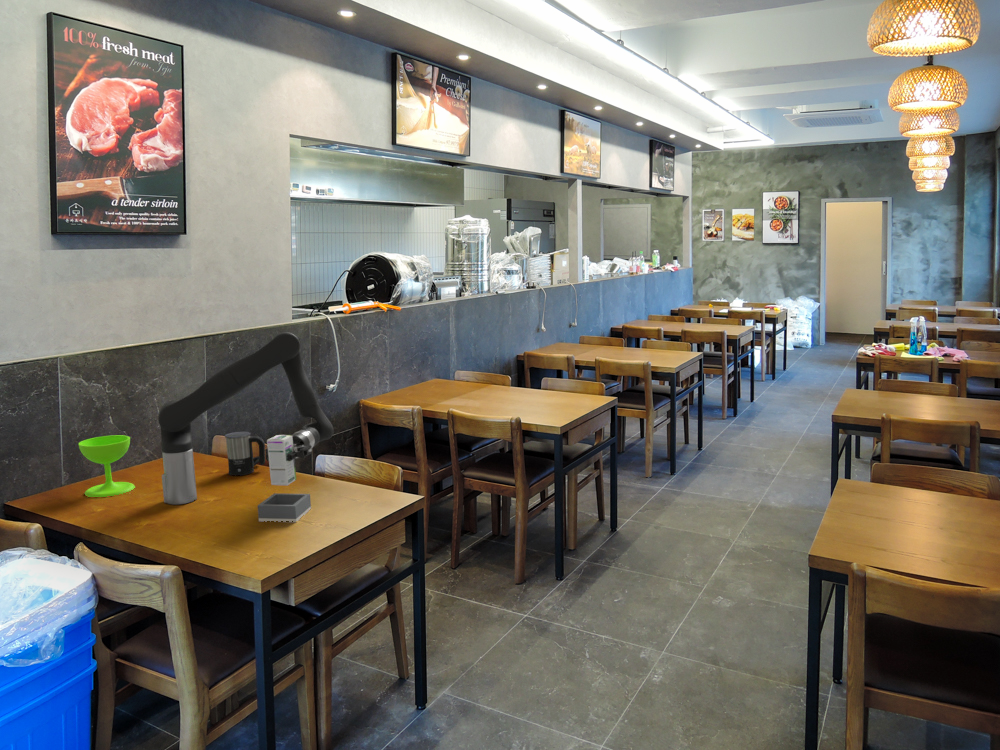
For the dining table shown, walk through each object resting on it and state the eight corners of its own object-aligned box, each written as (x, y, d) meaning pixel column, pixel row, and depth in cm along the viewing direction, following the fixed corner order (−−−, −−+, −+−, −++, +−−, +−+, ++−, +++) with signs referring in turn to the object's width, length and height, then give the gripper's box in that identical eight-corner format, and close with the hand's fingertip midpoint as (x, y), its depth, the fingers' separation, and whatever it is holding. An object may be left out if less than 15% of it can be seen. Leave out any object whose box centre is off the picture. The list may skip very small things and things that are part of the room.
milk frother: (230, 477, 278) (226, 438, 276) (223, 467, 292) (219, 430, 289) (269, 471, 285) (266, 433, 282) (261, 462, 298) (258, 425, 296)
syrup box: (288, 485, 231) (284, 439, 228) (270, 485, 232) (266, 438, 229) (296, 480, 236) (293, 434, 234) (279, 479, 237) (275, 434, 235)
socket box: (258, 521, 230) (257, 505, 229) (275, 508, 242) (274, 493, 241) (296, 522, 229) (295, 506, 228) (311, 509, 240) (310, 493, 240)
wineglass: (143, 483, 273) (138, 434, 271) (122, 497, 258) (117, 445, 255) (98, 484, 273) (92, 436, 270) (74, 498, 257) (68, 447, 254)
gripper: (277, 432, 247) (254, 445, 230) (319, 432, 245) (299, 446, 228) (279, 454, 248) (256, 469, 232) (321, 455, 246) (301, 470, 230)
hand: (278, 457), depth 230 cm, fingers closed on syrup box, 6 cm apart
